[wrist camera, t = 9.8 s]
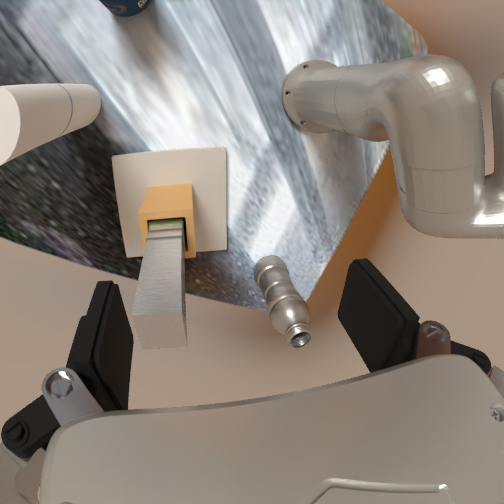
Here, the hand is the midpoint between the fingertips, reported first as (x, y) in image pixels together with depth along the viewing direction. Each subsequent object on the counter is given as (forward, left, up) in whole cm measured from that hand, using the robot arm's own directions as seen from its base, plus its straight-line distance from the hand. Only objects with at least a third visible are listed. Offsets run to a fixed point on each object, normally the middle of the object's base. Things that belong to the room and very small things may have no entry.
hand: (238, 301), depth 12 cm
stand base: (+5, +10, -38) cm, 40 cm away
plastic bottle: (-12, +24, -38) cm, 47 cm away
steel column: (+5, +10, -31) cm, 33 cm away
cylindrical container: (+19, -8, -38) cm, 44 cm away
